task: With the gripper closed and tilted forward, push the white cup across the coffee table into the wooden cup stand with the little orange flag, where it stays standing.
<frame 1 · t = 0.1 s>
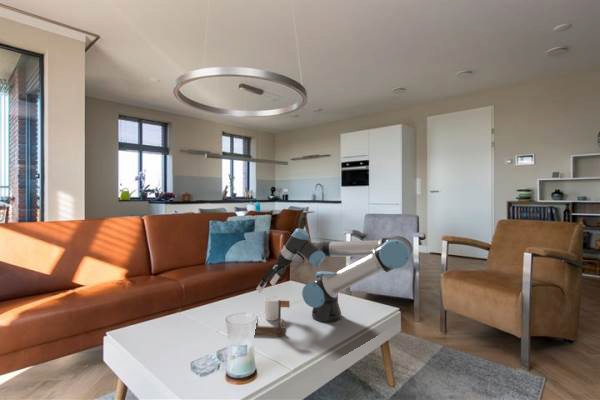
hand: (265, 287, 166), 15 cm above the table, tool tilted 35°, fingers open, 13 cm apart
white cup: (271, 318, 164), on the table
wooden cup stand: (267, 328, 151), on the table
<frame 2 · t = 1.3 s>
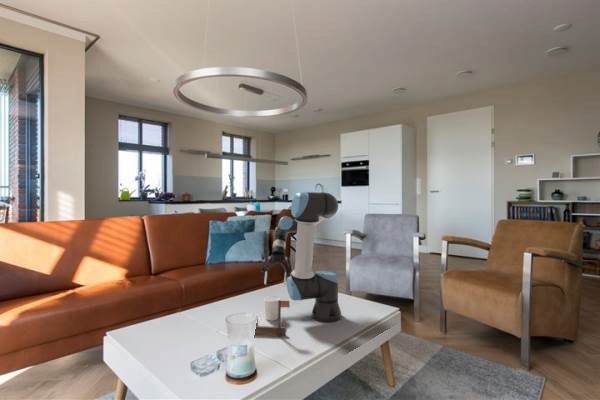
hand: (274, 283, 173), 15 cm above the table, tool tilted 45°, fingers open, 10 cm apart
nothing on the table moved.
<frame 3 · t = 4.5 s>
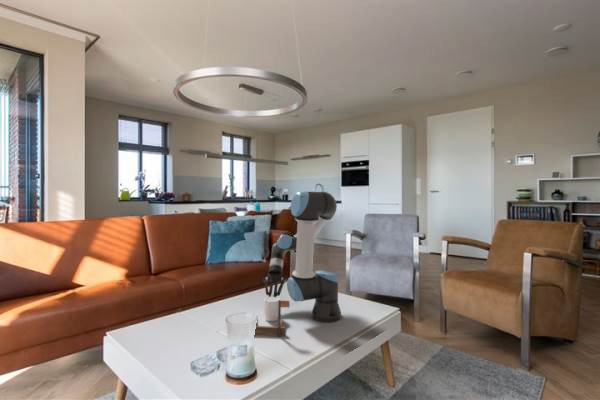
hand: (271, 307, 168), 4 cm above the table, tool tilted 45°, fingers closed
white cup: (271, 319, 163), on the table, touching gripper
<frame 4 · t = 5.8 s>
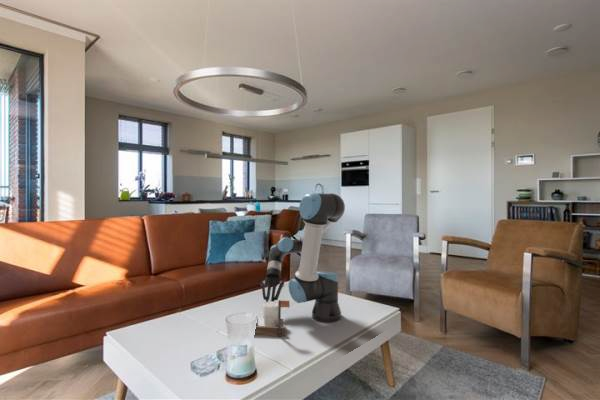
hand: (268, 312, 160), 4 cm above the table, tool tilted 45°, fingers closed
white cup: (271, 325, 156), on the table, touching gripper
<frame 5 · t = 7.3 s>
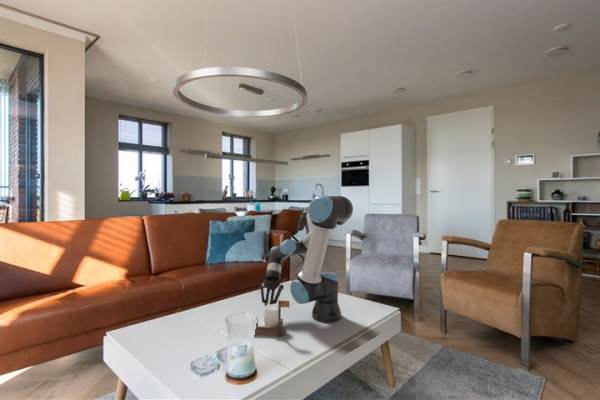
hand: (266, 316, 155), 4 cm above the table, tool tilted 45°, fingers closed
white cup: (271, 328, 151), on the table, touching wooden cup stand, gripper
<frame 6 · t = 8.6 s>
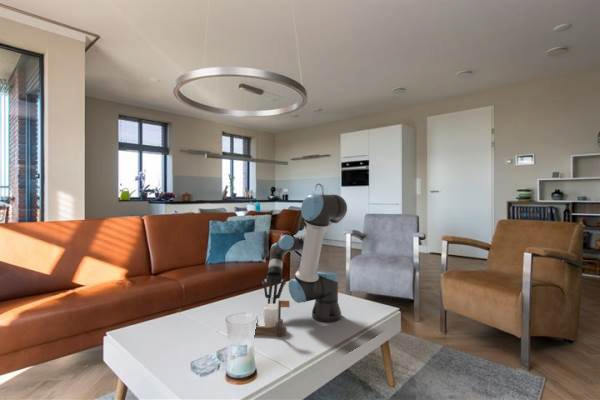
hand: (270, 310, 159), 5 cm above the table, tool tilted 45°, fingers closed
white cup: (271, 327, 152), on the table
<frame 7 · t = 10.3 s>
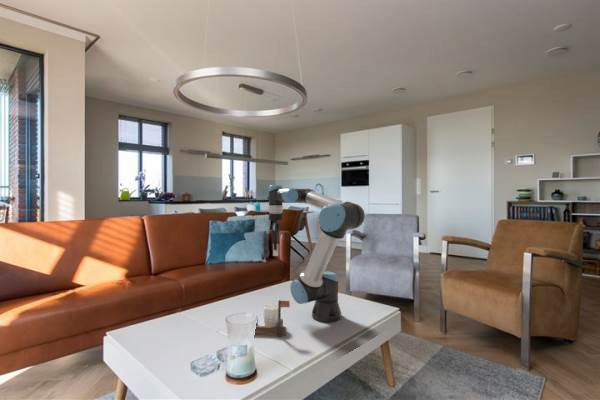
hand: (275, 255, 178), 29 cm above the table, tool pointing down, fingers closed
nothing on the table moved.
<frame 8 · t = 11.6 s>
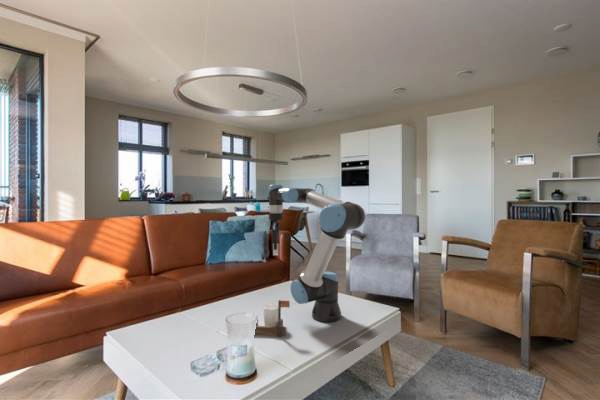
hand: (275, 255, 178), 29 cm above the table, tool pointing down, fingers closed
nothing on the table moved.
at the end: white cup 2.4 cm from the wooden cup stand (horizontally); white cup tilted 1°; the gripper is holding nothing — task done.
